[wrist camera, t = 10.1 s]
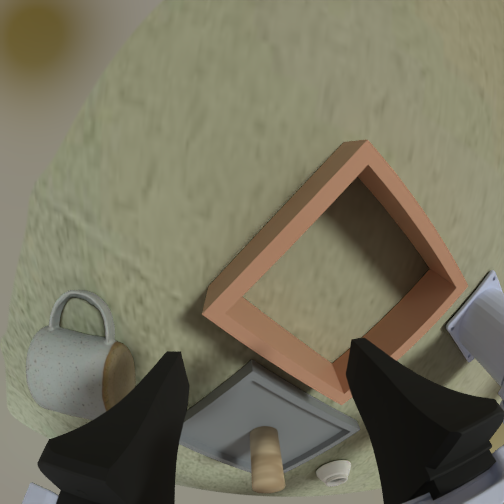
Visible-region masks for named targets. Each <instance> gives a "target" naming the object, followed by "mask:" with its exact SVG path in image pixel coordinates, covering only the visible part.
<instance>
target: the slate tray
mask: <svg viewBox="0 0 504 504" xmlns="http://www.w3.org/2000/svg"><path fill="white" fill-rule="evenodd" d="M261 426H270V427H273V428H275V429H277V431H278V436H279V444H280V451H281V458H282V465H283V473H285V472H287V471H290V470H292V469H294V468H296V467H298V466H300V465H301V464H303V463H305V462H307V461H309V460H311V459H313V458H315V457H316V456H318V455H320V454H322V453H323V452H325V451H327V450H329V449H330V448H332V447H334V446H335V445H337V444H339V443H340V442H342V441H343V440H345V439H347V438H348V437H350V436H351V435H353V434H354V433H356V432H357V431H359V430H360V428H359V425H358V423H357V420H355V419H353V418H351V417H349V416H347V415H346V414H344V413H342V412H340V411H338V410H336V409H334V408H332V407H331V406H329V405H327V404H325V403H323V402H322V401H320V400H318V399H316V398H314V397H313V396H311V395H309V394H308V393H306V392H304V391H302V390H301V389H299V388H297V387H296V386H294V385H292V384H291V383H289V382H287V381H286V380H284V379H282V378H281V377H279V376H277V375H276V374H274V373H273V372H271V371H269V370H268V369H266V368H265V367H263V366H262V365H260V364H258V363H257V362H255V361H254V360H251V361H250V362H248V363H247V364H246V365H245V366H244V367H242V368H241V369H240V370H239V371H238V372H236V373H235V374H234V375H233V376H231V377H230V378H229V379H228V380H226V381H225V382H224V383H223V384H221V385H220V386H219V387H218V388H216V389H215V390H214V391H212V392H211V393H210V394H209V395H207V396H206V397H205V398H203V399H202V400H201V401H199V402H198V403H197V404H196V405H194V406H193V407H191V408H190V409H189V410H187V411H186V415H185V419H184V424H183V428H182V432H181V437H180V441H179V444H180V445H183V446H185V447H187V448H189V449H191V450H193V451H196V452H198V453H200V454H203V455H205V456H207V457H210V458H212V459H215V460H217V461H220V462H222V463H225V464H228V465H230V466H233V467H236V468H239V469H241V470H244V471H247V472H250V473H251V453H250V432H251V431H252V430H253V429H254V428H257V427H261Z"/></svg>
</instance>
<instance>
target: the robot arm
mask: <svg viewBox="0 0 504 504" xmlns="http://www.w3.org/2000/svg"><path fill="white" fill-rule="evenodd" d="M446 329H447V330H448V332H449V333H450V335H451V336H452V338H453V339H454V341H455V343H456V344H457V346H458V347H459V349H460V350H461V352H462V354H463V355H464V357H465V358H466V360H467V361H468V362H471V361H472V360H473V359H474V358H475V359H476V360H477V361H478V362H479V363H480V364H481V365H482V366H483V367H484V369H485V370H486V371H487V372H488V373H489V374H490V375H491V376H492V377H493V379H494V380H495V381H496V382H497V383H498V384H499V385H500V387H501V389H500V391H499V392H498V394H499V396H500V397H501V398H502V401H501V403H500V405H499V404H498V403H497V401H496V400H495V399H489V398H482V397H476V396H472V395H468V394H464V393H460V392H457V391H454V390H451V389H448V388H446V387H443V386H441V385H438V384H436V383H434V382H432V381H430V380H428V379H426V378H424V377H422V376H420V375H418V374H416V373H415V372H413V371H411V370H410V369H408V368H406V367H405V366H403V365H402V364H400V363H399V362H397V361H396V360H395V359H393V358H392V357H390V356H389V355H388V354H386V353H385V352H384V351H382V350H381V349H380V348H378V347H377V346H376V345H374V344H373V343H372V342H370V341H369V340H367V339H366V338H358V339H352V340H351V347H350V353H349V358H348V364H347V369H346V378H347V381H348V385H349V388H350V392H351V395H352V397H353V399H354V401H355V404H356V406H357V408H358V411H359V413H360V415H361V417H362V420H363V422H364V424H365V426H366V429H367V431H368V434H369V436H370V439H371V443H372V446H373V450H374V454H375V458H376V462H377V466H378V470H379V475H380V481H381V486H382V493H383V501H384V504H503V503H504V445H503V446H501V447H500V448H498V449H497V450H496V451H495V452H494V453H491V452H490V450H489V449H490V448H491V447H492V445H491V443H490V441H489V440H490V438H491V437H492V436H493V435H494V433H495V432H496V431H497V429H498V428H499V427H500V425H501V424H502V422H503V423H504V293H503V292H502V289H501V286H500V283H499V281H498V278H497V275H496V273H495V271H493V270H491V271H490V272H489V273H488V275H487V276H486V277H485V279H484V280H483V281H482V283H481V284H480V285H479V286H478V288H477V289H476V290H475V292H474V293H473V294H472V295H471V296H470V298H469V299H468V300H467V301H466V302H465V304H464V305H463V306H462V307H461V308H460V309H459V311H458V312H457V313H456V314H455V315H454V316H453V317H452V318H451V320H450V321H449V322H448V323H447V325H446ZM188 395H189V383H188V379H187V375H186V371H185V367H184V363H183V359H182V355H181V352H166V353H165V354H164V355H163V357H162V358H161V359H160V360H159V361H158V362H157V364H156V365H155V366H154V367H153V368H152V369H151V370H150V372H149V373H148V374H147V375H146V376H145V377H144V378H143V379H142V380H141V382H140V383H139V384H138V385H137V386H136V387H135V388H134V389H133V390H132V391H130V392H129V393H128V394H127V395H126V396H125V397H124V398H123V399H122V400H121V401H119V402H118V403H117V404H116V405H114V406H113V407H112V408H110V409H109V410H108V411H106V412H105V413H103V414H102V415H100V416H99V417H97V418H95V419H94V420H92V421H91V422H89V423H87V424H85V425H83V426H81V427H79V428H77V429H75V430H73V431H71V432H68V433H66V434H63V435H60V436H58V437H55V438H52V439H49V441H48V443H47V444H46V446H45V449H44V451H43V453H42V455H41V457H40V459H39V461H38V467H39V469H40V471H41V472H42V473H43V474H44V475H45V476H46V477H47V478H48V479H49V480H50V481H52V483H54V484H55V485H56V486H57V487H58V488H59V489H60V490H61V491H60V494H59V495H57V494H56V493H54V492H52V491H50V490H48V489H46V488H43V487H41V486H39V485H37V484H35V483H33V482H32V483H30V485H29V487H28V489H27V492H26V494H25V497H24V499H23V502H22V504H174V497H175V496H174V495H175V472H176V460H177V452H178V446H179V441H180V437H181V432H182V428H183V424H184V419H185V415H186V410H187V405H188Z"/></svg>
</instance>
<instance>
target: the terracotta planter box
mask: <svg viewBox="0 0 504 504" xmlns="http://www.w3.org/2000/svg"><path fill="white" fill-rule="evenodd" d="M356 177H358V178H359V179H360V180H361V181H362V182H363V183H364V185H365V186H366V187H367V188H368V189H369V190H370V191H371V193H372V194H373V195H374V196H375V197H376V198H377V200H378V201H379V202H380V203H381V204H382V206H383V207H384V208H385V209H386V211H387V212H388V213H389V214H390V216H391V217H392V218H393V219H394V221H395V222H396V223H397V224H398V226H399V227H400V228H401V230H402V231H403V232H404V233H405V235H406V236H407V237H408V239H409V240H410V241H411V243H412V244H413V246H414V247H415V248H416V250H417V251H418V252H419V254H420V255H421V257H422V258H423V260H424V261H425V262H426V264H427V265H428V267H429V268H430V269H429V270H428V271H427V273H426V274H425V275H424V276H423V277H422V278H421V279H420V280H419V281H418V283H417V284H416V285H415V286H414V287H413V288H412V289H411V290H410V291H409V292H408V293H407V294H406V295H405V296H404V297H403V298H402V299H401V301H400V302H399V303H398V304H397V305H396V306H395V307H394V308H393V309H392V310H391V311H390V312H389V313H388V314H387V315H386V316H385V317H383V318H382V319H381V320H380V321H379V322H378V323H377V324H376V325H375V326H374V327H373V328H372V329H371V330H370V331H369V332H368V333H367V334H365V335H364V336H363V337H362V338H366V339H367V340H369V341H370V342H372V343H373V344H374V345H376V346H377V347H378V348H380V349H381V350H382V351H384V352H385V353H386V354H388V355H389V356H390V357H392V358H393V359H395V360H396V361H397V360H398V359H399V358H400V357H401V356H402V355H404V354H405V353H406V352H407V351H408V350H409V349H410V348H411V347H412V346H413V345H414V344H415V343H416V342H417V341H418V340H419V339H420V338H421V337H422V336H423V335H424V334H425V333H426V332H427V331H428V330H429V329H430V328H431V327H432V326H433V325H434V324H435V323H436V322H437V321H438V320H439V319H440V318H441V317H442V316H443V315H444V313H445V312H446V311H447V310H448V309H449V308H450V307H451V306H452V304H453V303H454V302H455V301H456V300H457V299H458V298H459V296H460V295H461V294H462V293H463V292H464V290H465V289H466V288H467V287H468V284H467V282H466V280H465V278H464V277H463V275H462V273H461V271H460V269H459V267H458V266H457V264H456V262H455V260H454V259H453V257H452V255H451V253H450V252H449V250H448V248H447V247H446V245H445V243H444V242H443V240H442V238H441V237H440V235H439V234H438V232H437V231H436V229H435V227H434V226H433V224H432V223H431V221H430V220H429V218H428V217H427V215H426V214H425V212H424V211H423V209H422V208H421V207H420V205H419V204H418V202H417V201H416V200H415V198H414V197H413V195H412V194H411V193H410V191H409V190H408V189H407V187H406V186H405V185H404V183H403V182H402V181H401V179H400V178H399V177H398V175H397V174H396V173H395V172H394V170H393V169H392V168H391V167H390V165H389V164H388V163H387V162H386V161H385V159H384V158H383V157H382V156H381V155H380V153H379V152H378V151H377V150H376V149H375V147H374V146H373V145H372V144H371V143H370V142H369V141H368V140H359V141H349V142H343V143H342V145H341V146H340V147H339V148H338V149H337V150H336V151H335V152H334V153H333V154H332V155H331V156H330V157H329V158H328V159H327V160H326V161H325V162H324V163H323V164H322V166H321V167H320V168H319V169H318V170H317V171H316V172H315V173H314V174H313V175H312V176H311V177H310V178H309V179H308V180H307V181H306V182H305V184H304V185H303V186H302V187H301V188H300V189H299V190H298V191H297V192H296V193H295V194H294V195H293V196H292V197H291V198H290V199H289V200H288V202H287V203H286V204H285V205H284V206H283V207H282V208H281V209H280V210H279V211H278V212H277V213H276V214H275V215H274V216H273V218H272V219H271V220H270V221H269V222H268V223H267V224H266V225H265V226H264V227H263V228H262V229H261V230H260V231H259V232H258V234H257V235H256V236H255V237H254V238H253V239H252V240H251V241H250V242H249V243H248V244H247V245H246V246H245V247H244V249H243V250H242V251H241V252H240V253H239V254H238V255H237V256H236V257H235V258H234V259H233V260H232V261H231V262H230V264H229V265H228V266H227V267H226V268H225V269H224V270H223V271H222V272H221V273H220V274H219V275H218V277H217V278H216V279H215V280H214V281H213V282H212V283H211V284H210V285H209V286H208V290H207V295H206V299H205V303H204V307H203V312H202V315H204V316H205V317H206V318H208V319H209V320H211V321H212V322H213V323H215V324H216V325H217V326H219V327H220V328H222V329H223V330H224V331H226V332H227V333H229V334H230V335H232V336H233V337H234V338H236V339H237V340H239V341H240V342H242V343H243V344H244V345H246V346H247V347H249V348H250V349H252V350H253V351H255V352H256V353H258V354H259V355H261V356H262V357H264V358H265V359H267V360H268V361H270V362H271V363H273V364H275V365H276V366H278V367H279V368H281V369H282V370H284V371H285V372H287V373H289V374H290V375H292V376H293V377H295V378H297V379H298V380H300V381H301V382H303V383H305V384H306V385H308V386H310V387H311V388H313V389H315V390H316V391H318V392H320V393H321V394H323V395H325V396H327V397H328V398H330V399H332V400H333V401H335V402H337V403H339V404H340V405H342V404H344V403H345V402H346V401H348V400H349V399H351V398H352V395H351V392H350V388H349V385H348V381H347V378H346V369H347V364H348V358H349V353H350V349H349V350H347V351H346V352H345V353H344V354H343V355H342V356H340V357H339V358H338V359H337V360H336V361H334V362H333V363H331V362H329V361H328V360H326V359H325V358H324V357H322V356H321V355H319V354H318V353H317V352H315V351H314V350H312V349H311V348H310V347H308V346H307V345H306V344H304V343H303V342H302V341H300V340H299V339H297V338H296V337H295V336H293V335H292V334H291V333H289V332H288V331H287V330H285V329H284V328H283V327H281V326H280V325H279V324H277V323H276V322H275V321H273V320H272V319H271V318H269V317H268V316H267V315H265V314H264V313H263V312H261V311H260V310H259V309H258V308H256V307H255V306H254V305H252V304H251V303H250V302H248V301H247V300H246V299H245V298H243V297H242V296H243V295H244V294H245V293H246V292H247V291H248V290H249V289H250V288H251V287H252V286H253V285H254V284H255V283H256V282H257V281H258V280H259V279H260V278H261V277H262V276H263V275H264V274H265V273H266V272H267V271H268V270H269V269H270V267H271V266H272V265H273V264H274V263H275V262H276V261H277V260H278V259H279V258H280V257H281V256H282V255H283V254H284V253H285V252H286V251H287V250H288V249H289V248H290V247H291V246H292V245H293V244H294V243H295V242H296V241H297V240H298V239H299V238H300V237H301V235H302V234H303V233H304V232H305V231H306V230H307V229H308V228H309V227H310V226H311V225H312V224H313V223H314V222H315V221H316V220H317V219H318V218H319V217H320V216H321V215H322V213H323V212H324V211H325V210H326V209H327V208H328V207H329V206H330V205H331V204H332V203H333V202H334V201H335V200H336V199H337V198H338V196H339V195H340V194H341V193H342V192H343V191H344V190H345V189H346V188H347V187H348V186H349V185H350V184H351V183H352V181H353V180H354V179H355V178H356Z"/></svg>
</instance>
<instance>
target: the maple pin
mask: <svg viewBox="0 0 504 504" xmlns="http://www.w3.org/2000/svg"><path fill="white" fill-rule="evenodd" d="M250 453H251V473H252V489H253V491H255V492H258V493H274V492H278V491H281V490H283V489H284V488H285V480H284V473H283V465H282V458H281V451H280V444H279V436H278V431H277V429H275V428H273V427H270V426H261V427H257V428H254V429H253V430H252V431H251V432H250Z"/></svg>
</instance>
